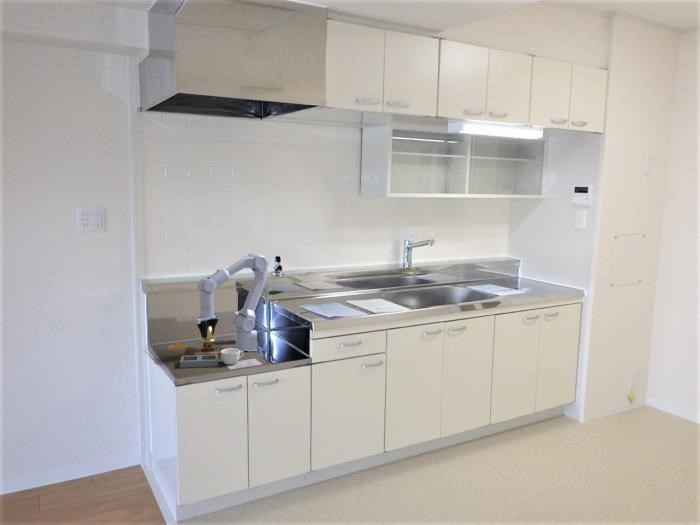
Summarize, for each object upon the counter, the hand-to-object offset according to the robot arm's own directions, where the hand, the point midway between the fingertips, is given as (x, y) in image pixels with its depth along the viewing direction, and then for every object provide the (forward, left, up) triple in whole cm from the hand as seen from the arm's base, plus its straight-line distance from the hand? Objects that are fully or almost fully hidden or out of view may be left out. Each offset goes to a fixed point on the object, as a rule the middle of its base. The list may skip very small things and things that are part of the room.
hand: (207, 336), depth 251 cm
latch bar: (+12, 0, -5) cm, 13 cm away
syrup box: (-15, -20, -9) cm, 26 cm away
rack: (+3, +11, -9) cm, 14 cm away
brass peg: (0, 0, -5) cm, 4 cm away
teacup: (-11, +11, -9) cm, 18 cm away
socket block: (+2, 0, -9) cm, 9 cm away
